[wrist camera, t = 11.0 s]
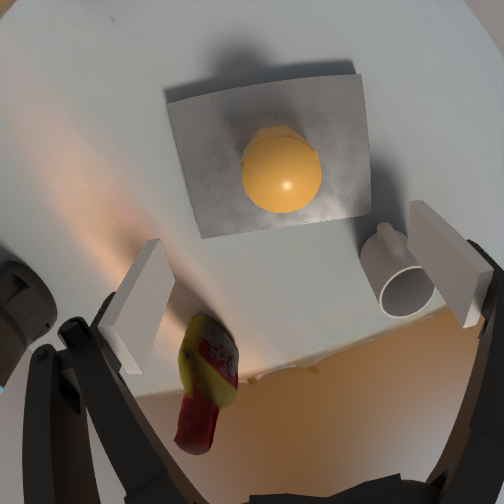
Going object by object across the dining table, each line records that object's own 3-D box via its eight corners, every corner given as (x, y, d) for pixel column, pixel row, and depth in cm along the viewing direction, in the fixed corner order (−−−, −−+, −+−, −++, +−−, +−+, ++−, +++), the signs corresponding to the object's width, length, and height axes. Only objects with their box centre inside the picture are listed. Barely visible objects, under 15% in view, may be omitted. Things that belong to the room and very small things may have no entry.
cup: (365, 281, 41) (384, 326, 33) (346, 220, 36) (368, 259, 28) (411, 263, 39) (438, 304, 31) (399, 200, 34) (432, 233, 27)
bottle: (178, 310, 44) (143, 431, 27) (217, 301, 43) (196, 430, 26) (211, 361, 50) (195, 470, 32) (247, 354, 48) (241, 469, 31)
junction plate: (203, 233, 37) (195, 256, 33) (170, 102, 30) (154, 106, 25) (367, 209, 35) (383, 230, 30) (356, 74, 27) (374, 73, 23)
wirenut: (252, 191, 33) (249, 218, 27) (240, 132, 30) (234, 144, 24) (312, 182, 32) (324, 207, 26) (304, 122, 29) (316, 132, 23)
